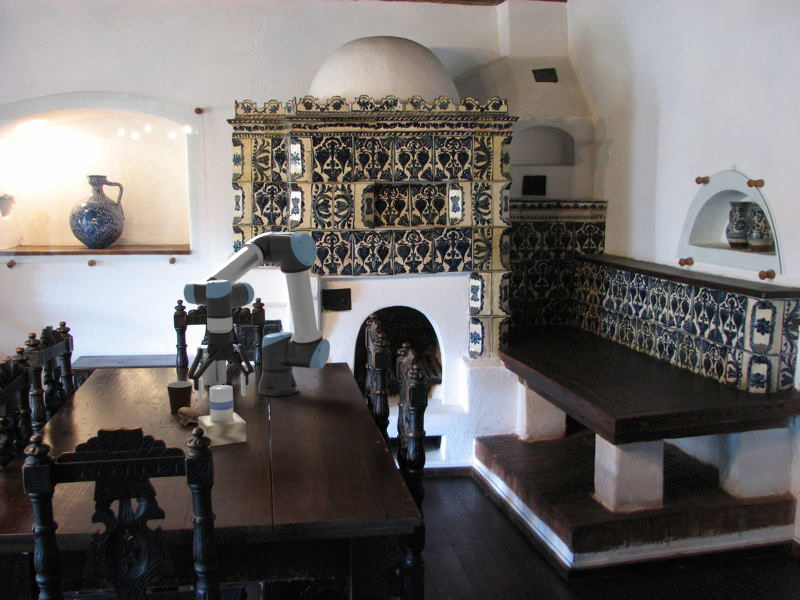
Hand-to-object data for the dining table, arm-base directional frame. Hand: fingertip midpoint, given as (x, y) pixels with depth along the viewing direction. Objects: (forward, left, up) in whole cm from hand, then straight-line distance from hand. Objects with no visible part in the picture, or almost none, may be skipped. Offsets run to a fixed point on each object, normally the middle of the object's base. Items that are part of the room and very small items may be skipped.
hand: (221, 397), depth 233 cm
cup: (-15, -74, -13) cm, 76 cm away
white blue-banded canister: (0, 0, -7) cm, 7 cm away
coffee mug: (+5, -37, -13) cm, 39 cm away
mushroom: (+6, -20, -13) cm, 25 cm away
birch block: (0, 0, -13) cm, 13 cm away
